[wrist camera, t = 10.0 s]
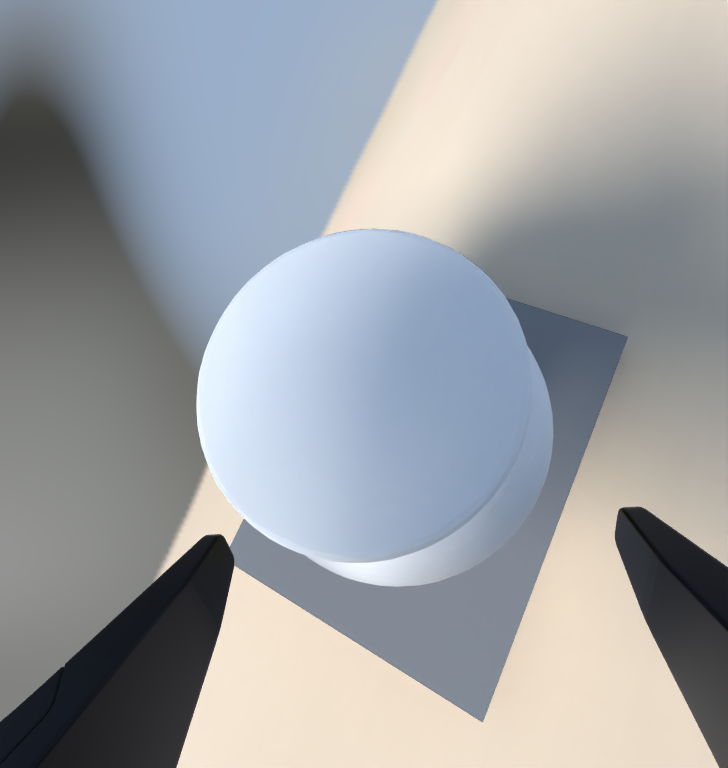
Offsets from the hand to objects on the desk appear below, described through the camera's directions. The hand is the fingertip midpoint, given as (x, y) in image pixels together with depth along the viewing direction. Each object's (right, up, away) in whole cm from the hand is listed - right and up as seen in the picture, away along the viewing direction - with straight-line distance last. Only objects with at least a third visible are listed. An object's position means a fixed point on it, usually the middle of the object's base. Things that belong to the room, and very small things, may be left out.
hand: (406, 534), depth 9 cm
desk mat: (+2, 0, +9) cm, 9 cm away
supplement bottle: (+2, 0, +8) cm, 9 cm away
